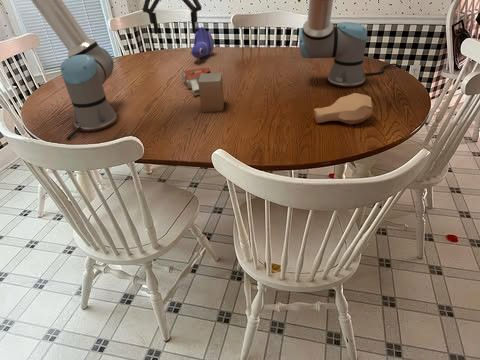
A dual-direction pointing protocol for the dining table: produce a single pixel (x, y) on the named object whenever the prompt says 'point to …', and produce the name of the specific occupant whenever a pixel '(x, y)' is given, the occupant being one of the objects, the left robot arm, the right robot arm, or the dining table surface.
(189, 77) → the tape dispenser
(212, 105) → the block
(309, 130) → the dining table surface
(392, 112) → the dining table surface
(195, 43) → the toy
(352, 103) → the squash
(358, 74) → the right robot arm
